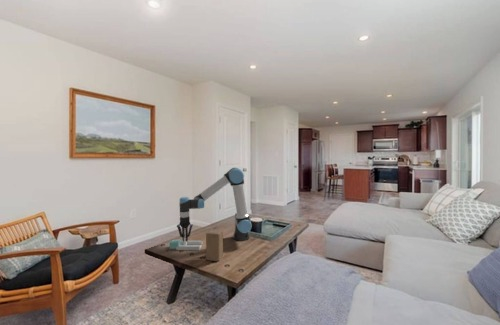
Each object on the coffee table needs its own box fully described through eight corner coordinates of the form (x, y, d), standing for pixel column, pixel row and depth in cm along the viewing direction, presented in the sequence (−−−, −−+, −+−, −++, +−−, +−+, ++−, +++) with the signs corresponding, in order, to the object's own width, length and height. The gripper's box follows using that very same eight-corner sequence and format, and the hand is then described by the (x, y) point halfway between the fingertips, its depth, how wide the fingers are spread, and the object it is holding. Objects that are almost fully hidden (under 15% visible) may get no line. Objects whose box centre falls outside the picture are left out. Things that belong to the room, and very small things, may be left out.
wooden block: (219, 261, 161) (218, 234, 160) (205, 260, 163) (205, 233, 162) (223, 255, 171) (223, 229, 170) (210, 254, 173) (210, 228, 172)
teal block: (180, 245, 188) (180, 239, 188) (177, 248, 182) (177, 242, 181) (172, 245, 188) (172, 239, 188) (169, 248, 182) (169, 242, 181)
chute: (202, 244, 191) (202, 240, 191) (199, 250, 179) (199, 246, 179) (181, 244, 191) (181, 240, 191) (176, 250, 179) (176, 246, 179)
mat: (180, 244, 190) (180, 244, 190) (176, 250, 179) (176, 250, 179) (171, 244, 190) (171, 244, 190) (166, 250, 179) (166, 250, 179)
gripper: (193, 215, 187) (194, 243, 188) (178, 215, 187) (178, 243, 188) (191, 217, 180) (192, 246, 181) (175, 217, 180) (175, 247, 181)
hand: (185, 245), depth 185 cm, fingers closed
